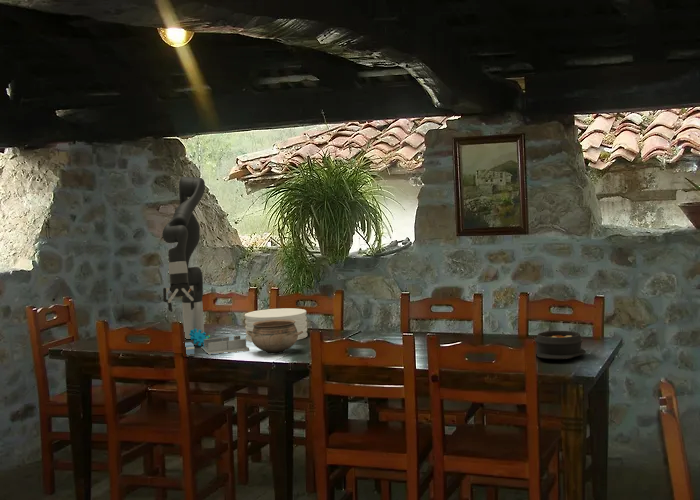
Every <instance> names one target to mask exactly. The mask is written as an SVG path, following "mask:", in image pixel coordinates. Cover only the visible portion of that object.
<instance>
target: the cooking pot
mask: <svg viewBox="0 0 700 500" xmlns="http://www.w3.org/2000/svg"><path fill="white" fill-rule="evenodd" d="M294 323H295V321H294V320H286V319H279V320H265V321H259V322H255V323H253V326H254V328H253V331H249V330H248V331H247V332H246V331H245V334H246V333H247V334H248V335H250V336H251V338H252V342H251V343H253V345H254V346H255V347H256V348H258V349H259V350H261V351H262V352H265V353H267V354H269V355H278V354H282V353H284V352H286V351H288V350H289V349H290V348H292V347H293V346H294V345H295V344H296V343H297V341H298V340H297V338H298V335H300V334H302V333H303V331H301V332H297V329H296V327H295V325H294ZM251 333H252V334H251Z"/></svg>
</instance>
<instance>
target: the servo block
mask: <svg viewBox="0 0 700 500" xmlns="http://www.w3.org/2000/svg"><path fill="white" fill-rule="evenodd" d="M184 342H185V347H186V354H187V355H190V354H195V349H196V348H195V346H194V342H192V341H188V342H187V341H184Z"/></svg>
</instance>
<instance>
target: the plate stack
mask: <svg viewBox="0 0 700 500" xmlns="http://www.w3.org/2000/svg"><path fill="white" fill-rule="evenodd" d="M244 319H245V320H244V323H245V326H244V327H245V335H246V337H245V339H246V342H250V343H253V342H252V338H251V336H250V335H248V334H247V333H246V332H247V331H248V330H249V331H253V328H254V326H253V323H255V322H259V321H265V320H279V319H286V320H294V321H295V323H294V325H295V327H296V329H297V332H301V331H303V333H302V334H300V335H298V338H297V341H298V340H302V339H305V338H306V337H308V332H307V331H308V327H307V326H308V321H307V319H308V318H307V310H306V309H304V308H303V309H302V308H286V307H285V308H283V307H282V308H269V309H260V310H254V311H249V312H246V313H245V314H244ZM251 334H252V333H251Z"/></svg>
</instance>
